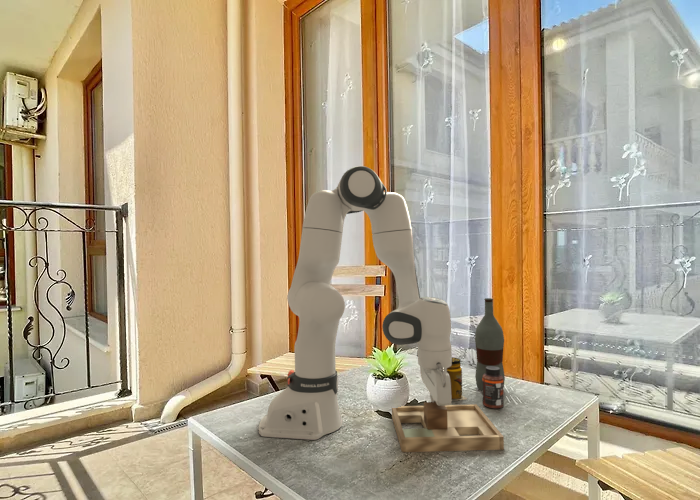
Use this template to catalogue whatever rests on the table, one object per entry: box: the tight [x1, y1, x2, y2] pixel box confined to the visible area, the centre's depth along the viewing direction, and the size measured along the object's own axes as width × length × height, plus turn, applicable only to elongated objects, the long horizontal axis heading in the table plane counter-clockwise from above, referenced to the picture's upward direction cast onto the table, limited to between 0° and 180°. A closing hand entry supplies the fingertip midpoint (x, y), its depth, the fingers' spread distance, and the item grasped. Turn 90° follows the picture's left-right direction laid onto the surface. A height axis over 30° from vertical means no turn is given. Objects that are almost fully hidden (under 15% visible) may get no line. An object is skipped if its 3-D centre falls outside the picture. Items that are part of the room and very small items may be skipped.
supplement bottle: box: [482, 366, 505, 410], centre depth 125 cm, size 6×6×11 cm
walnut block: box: [423, 401, 448, 430], centre depth 107 cm, size 5×5×5 cm
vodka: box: [474, 297, 506, 392], centre depth 139 cm, size 9×9×30 cm
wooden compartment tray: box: [391, 403, 505, 453], centre depth 108 cm, size 24×20×3 cm
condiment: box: [447, 356, 468, 402], centre depth 133 cm, size 7×8×12 cm
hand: (435, 409), depth 112 cm, fingers closed
